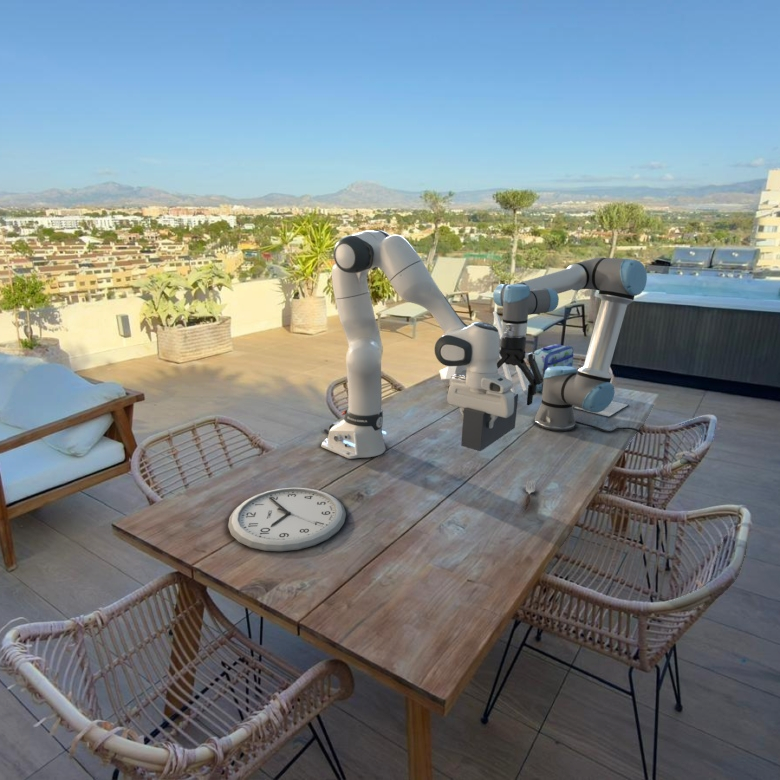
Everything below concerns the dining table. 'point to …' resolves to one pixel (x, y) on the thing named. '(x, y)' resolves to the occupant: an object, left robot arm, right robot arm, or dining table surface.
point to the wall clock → (287, 519)
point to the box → (478, 433)
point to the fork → (529, 490)
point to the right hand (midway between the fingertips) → (509, 400)
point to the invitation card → (609, 408)
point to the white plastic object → (461, 370)
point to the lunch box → (552, 359)
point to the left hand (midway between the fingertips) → (477, 424)
